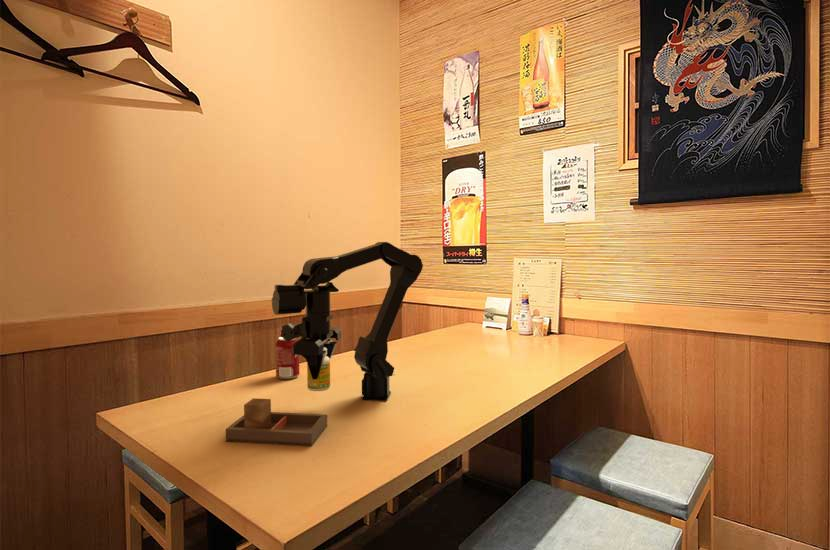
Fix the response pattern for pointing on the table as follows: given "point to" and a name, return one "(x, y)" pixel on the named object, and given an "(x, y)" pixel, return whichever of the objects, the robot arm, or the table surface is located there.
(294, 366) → the soda can
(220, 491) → the table surface
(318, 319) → the robot arm
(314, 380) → the supplement bottle
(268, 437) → the tray
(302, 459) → the table surface
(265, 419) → the walnut block
